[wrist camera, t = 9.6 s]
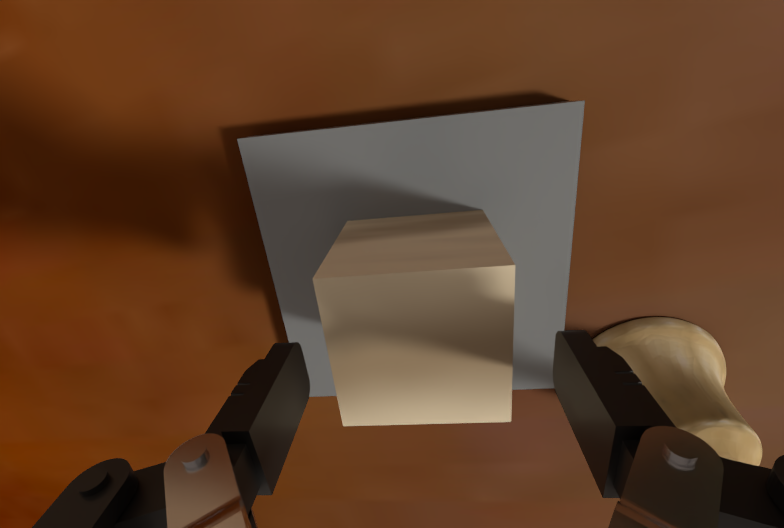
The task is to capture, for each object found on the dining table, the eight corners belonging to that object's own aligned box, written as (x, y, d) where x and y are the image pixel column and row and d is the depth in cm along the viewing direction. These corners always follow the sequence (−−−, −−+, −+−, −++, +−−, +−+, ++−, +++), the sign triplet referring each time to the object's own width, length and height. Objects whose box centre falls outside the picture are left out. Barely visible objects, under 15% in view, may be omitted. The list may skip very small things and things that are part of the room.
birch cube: (347, 221, 17) (312, 278, 11) (482, 209, 16) (515, 265, 11) (364, 333, 19) (343, 426, 14) (483, 326, 18) (511, 421, 13)
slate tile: (251, 135, 17) (237, 138, 16) (569, 100, 16) (584, 100, 14) (309, 379, 22) (303, 397, 21) (549, 369, 21) (559, 388, 20)
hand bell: (650, 287, 19) (1461, 939, 4) (755, 369, 20) (1626, 1064, 6) (533, 388, 22) (763, 971, 7) (632, 453, 23) (990, 1047, 9)
